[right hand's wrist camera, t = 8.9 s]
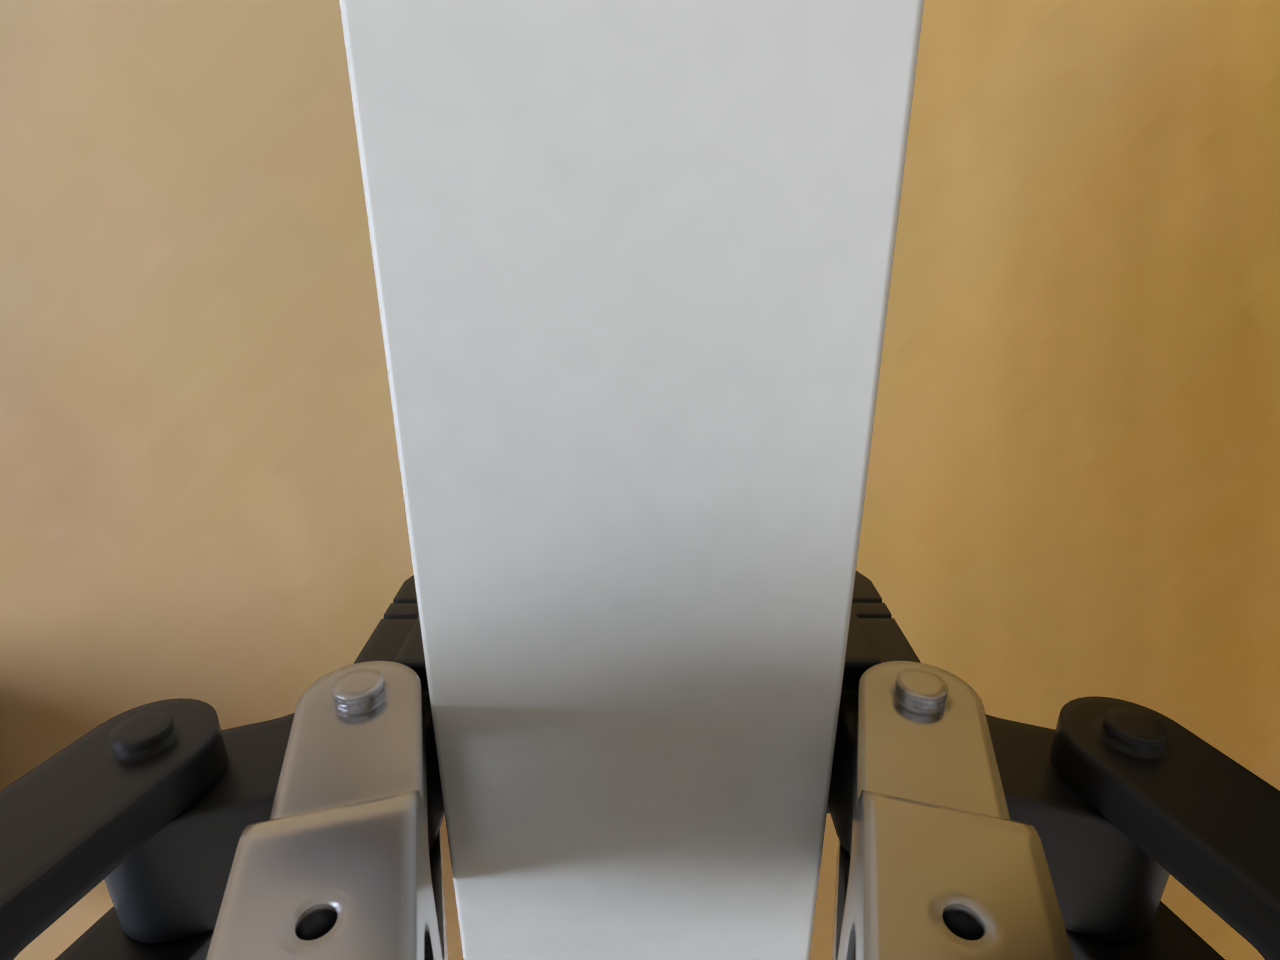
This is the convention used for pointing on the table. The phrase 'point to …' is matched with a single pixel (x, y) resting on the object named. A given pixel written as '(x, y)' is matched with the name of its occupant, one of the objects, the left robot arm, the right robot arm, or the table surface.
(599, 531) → the bar
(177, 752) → the right robot arm
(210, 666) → the table surface
